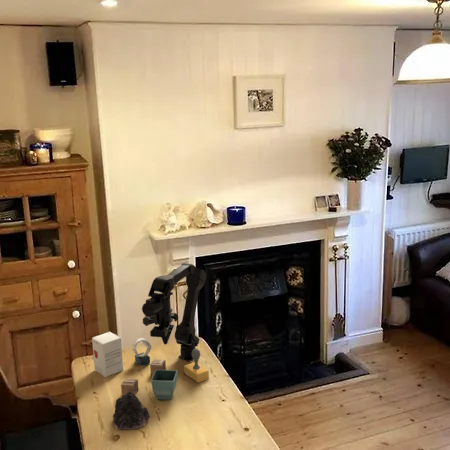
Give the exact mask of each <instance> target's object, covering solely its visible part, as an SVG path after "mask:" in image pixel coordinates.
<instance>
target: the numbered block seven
mask: <svg viewBox="0 0 450 450" xmlns="http://www.w3.org/2000/svg"><path fill="white" fill-rule="evenodd" d="M149 366H150V367H149V368H150V370H149V371H150V376H151V377H153V374H154V372H155V370H167V363H166V359H161V358H160V359H159V358H153V360H152V361H151V362H150V365H149Z"/></svg>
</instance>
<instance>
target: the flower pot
mask: <svg viewBox="0 0 450 450" xmlns="http://www.w3.org/2000/svg"><path fill="white" fill-rule="evenodd" d="M178 372H179V371H178V370H176V369H166V370H155V372H154V374H153V376H151V379H150V384H151V389H152V393H153V395H154V397H155V398H156V399H157V400H165V401H166V400H168V401H169V400H171V399H172V398H173V395H174V393H175V390H176V387H177V383H178Z"/></svg>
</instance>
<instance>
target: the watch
mask: <svg viewBox="0 0 450 450" xmlns="http://www.w3.org/2000/svg"><path fill="white" fill-rule="evenodd" d="M140 342H142V343H143V344H144V346H145V347H146V351H145V352H140V353H138V351H137V348H136V347H137V345H138V344H139V343H140ZM151 350H152V345H151V343H150V342H149V340H147V338H146V337H139V338H137V339H136V340H135V341H134V342H133V344H132V352H133V353H134V354H135V355H134V362H135V363H136V364H137V365H138V366H140V367H144V366H146V365H149V364H151V357H150V356H149V354H150V353H151Z"/></svg>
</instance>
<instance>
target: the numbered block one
mask: <svg viewBox="0 0 450 450" xmlns="http://www.w3.org/2000/svg"><path fill="white" fill-rule="evenodd" d="M120 387H121V397H122V396H123V395H126V394H127V393H128V392H132V393H133V394H134V395H135V396H137V394H138V392H139V388H140V387H139V379H138V378H129V377H127V378H126V377H125V379H124V380H123V381H122V382H121V384H120Z"/></svg>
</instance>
